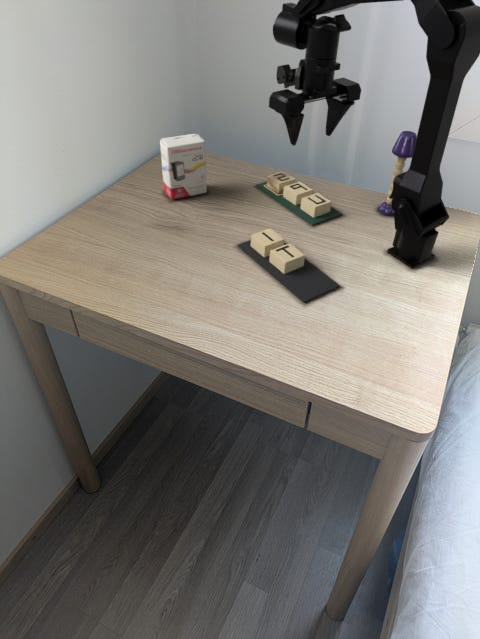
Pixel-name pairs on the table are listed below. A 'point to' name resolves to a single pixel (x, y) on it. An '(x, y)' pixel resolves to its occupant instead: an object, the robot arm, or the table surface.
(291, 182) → the tile
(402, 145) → the toy lamp
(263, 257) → the near word mat
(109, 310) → the table surface
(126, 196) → the table surface
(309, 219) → the far word mat
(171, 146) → the ink box
